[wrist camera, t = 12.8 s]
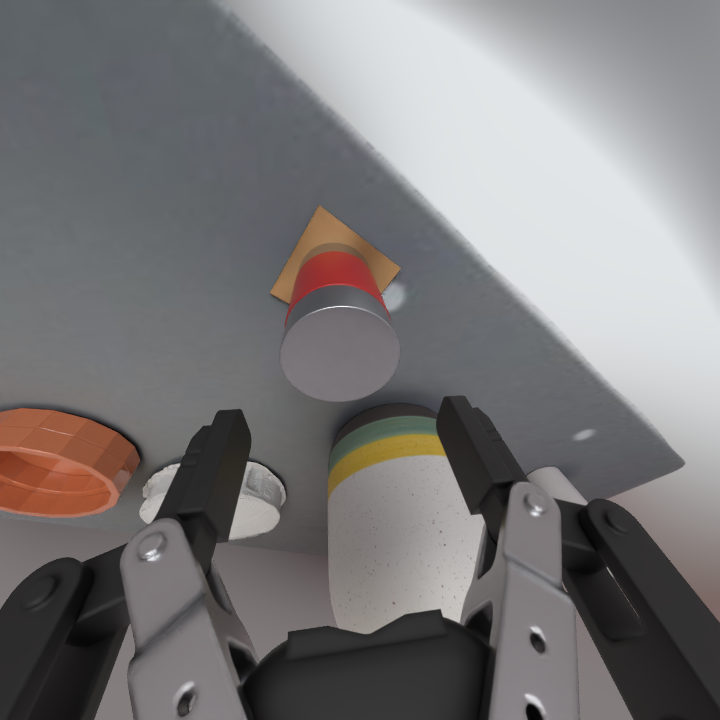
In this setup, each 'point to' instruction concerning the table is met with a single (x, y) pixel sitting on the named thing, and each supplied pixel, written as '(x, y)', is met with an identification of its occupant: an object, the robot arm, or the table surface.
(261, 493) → the white round slab
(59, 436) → the dish
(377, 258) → the coaster
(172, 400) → the table surface
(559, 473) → the coffee cup
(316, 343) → the can
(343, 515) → the vase
